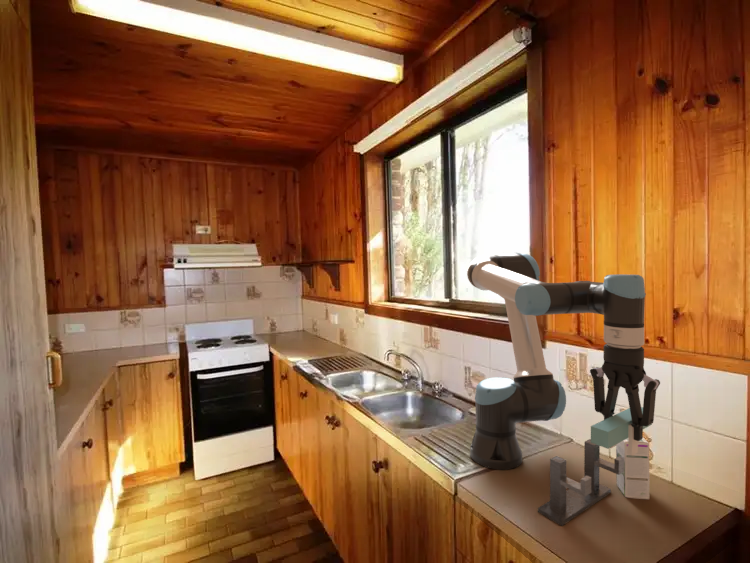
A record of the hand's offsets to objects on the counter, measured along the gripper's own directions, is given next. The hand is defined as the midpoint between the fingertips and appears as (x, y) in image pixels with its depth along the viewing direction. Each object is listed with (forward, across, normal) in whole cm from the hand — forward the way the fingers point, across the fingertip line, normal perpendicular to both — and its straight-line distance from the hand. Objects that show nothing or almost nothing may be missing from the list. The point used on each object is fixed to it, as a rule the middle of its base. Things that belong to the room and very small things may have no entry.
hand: (622, 449), depth 87 cm
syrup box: (+18, -5, +16) cm, 24 cm away
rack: (+17, -9, 0) cm, 19 cm away
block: (-4, 0, 0) cm, 4 cm away
